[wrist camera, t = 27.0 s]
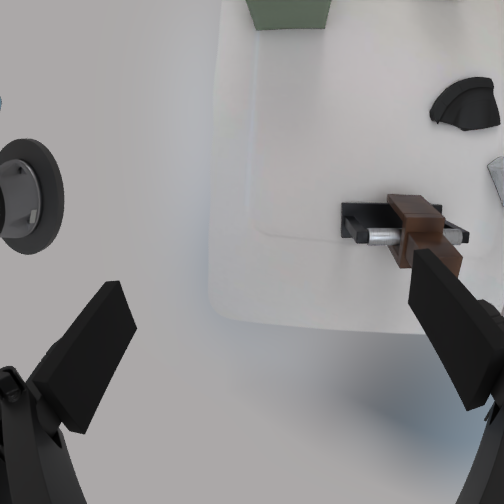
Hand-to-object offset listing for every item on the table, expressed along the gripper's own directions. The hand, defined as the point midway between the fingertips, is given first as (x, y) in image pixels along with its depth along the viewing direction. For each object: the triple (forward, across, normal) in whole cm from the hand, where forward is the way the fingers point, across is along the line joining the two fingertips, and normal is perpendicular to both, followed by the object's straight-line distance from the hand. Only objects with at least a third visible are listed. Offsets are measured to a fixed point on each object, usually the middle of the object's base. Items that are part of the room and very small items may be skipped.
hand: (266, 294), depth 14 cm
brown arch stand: (+28, +18, -8) cm, 34 cm away
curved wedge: (+33, +32, +8) cm, 47 cm away
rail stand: (+32, +18, -9) cm, 37 cm away
